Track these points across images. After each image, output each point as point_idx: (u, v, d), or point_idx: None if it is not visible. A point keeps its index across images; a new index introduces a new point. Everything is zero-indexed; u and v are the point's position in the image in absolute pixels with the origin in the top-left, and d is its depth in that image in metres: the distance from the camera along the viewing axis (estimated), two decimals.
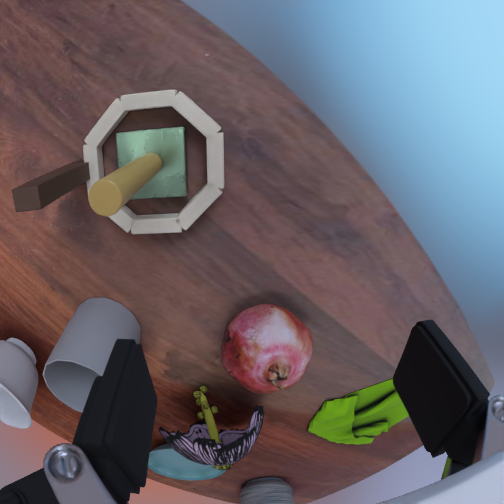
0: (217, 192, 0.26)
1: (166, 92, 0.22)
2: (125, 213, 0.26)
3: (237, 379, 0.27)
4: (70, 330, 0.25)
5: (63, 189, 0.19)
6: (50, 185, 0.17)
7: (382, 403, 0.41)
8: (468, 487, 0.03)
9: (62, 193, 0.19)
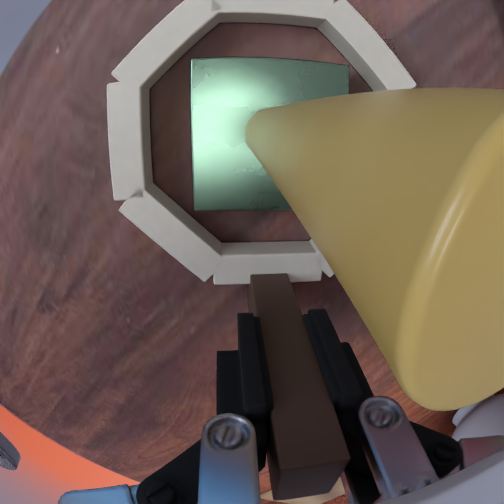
0: (342, 5, 0.09)
1: (110, 101, 0.10)
2: None
3: None
4: None
5: (304, 358, 0.08)
6: (287, 408, 0.07)
7: None
8: (468, 487, 0.03)
9: (314, 364, 0.08)
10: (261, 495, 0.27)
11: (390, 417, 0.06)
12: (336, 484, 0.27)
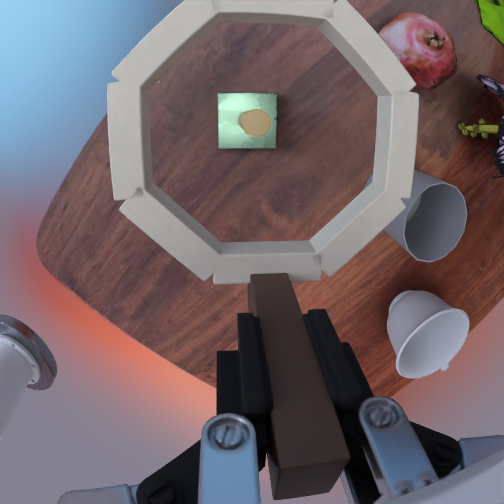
0: (342, 4, 0.09)
1: (111, 100, 0.10)
2: (370, 204, 0.12)
3: (440, 76, 0.22)
4: None
5: (304, 358, 0.08)
6: (288, 408, 0.07)
7: None
8: (468, 487, 0.03)
9: (314, 363, 0.08)
10: None
11: (390, 417, 0.06)
12: None
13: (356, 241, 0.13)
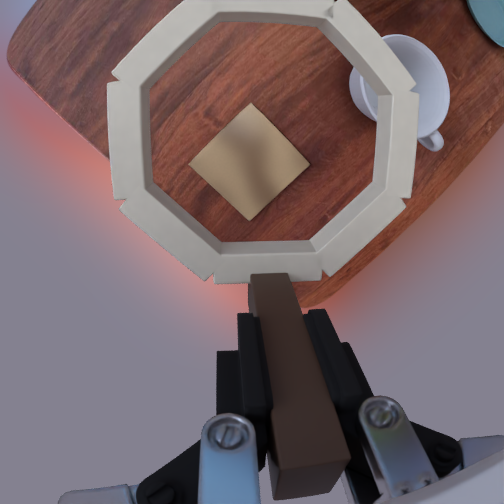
0: (342, 4, 0.08)
1: (111, 100, 0.10)
2: (370, 203, 0.12)
3: None
4: None
5: (304, 358, 0.08)
6: (288, 408, 0.07)
7: None
8: (468, 487, 0.03)
9: (314, 363, 0.08)
10: None
11: (390, 417, 0.06)
12: (261, 155, 0.38)
13: (356, 240, 0.13)
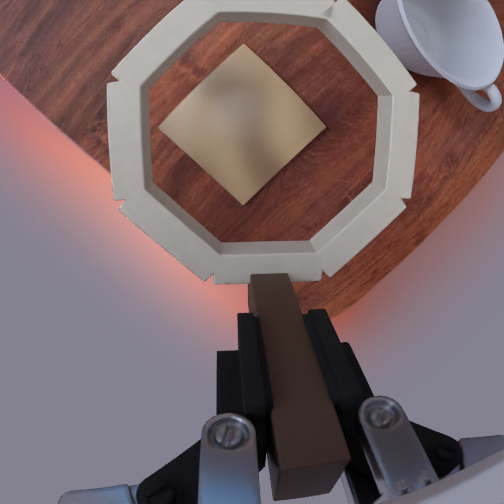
0: (342, 4, 0.08)
1: (110, 100, 0.10)
2: (370, 204, 0.12)
3: None
4: None
5: (304, 358, 0.08)
6: (288, 408, 0.07)
7: None
8: (468, 487, 0.03)
9: (314, 363, 0.08)
10: (162, 122, 0.25)
11: (390, 417, 0.06)
12: (258, 113, 0.26)
13: (356, 241, 0.13)
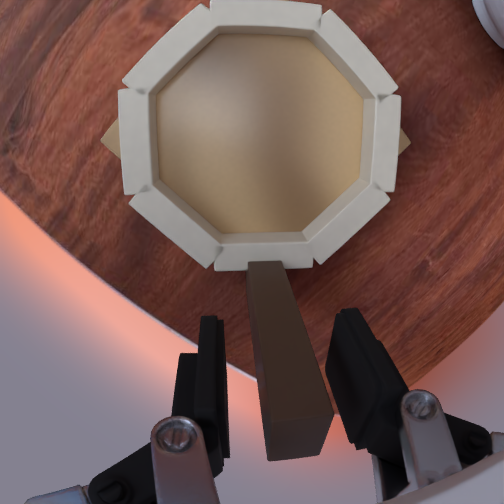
0: (329, 16, 0.10)
1: (121, 105, 0.11)
2: (356, 197, 0.14)
3: None
4: None
5: (294, 330, 0.10)
6: (279, 371, 0.08)
7: None
8: (468, 487, 0.03)
9: (303, 335, 0.10)
10: (108, 131, 0.13)
11: (428, 410, 0.06)
12: (294, 110, 0.13)
13: (344, 231, 0.14)
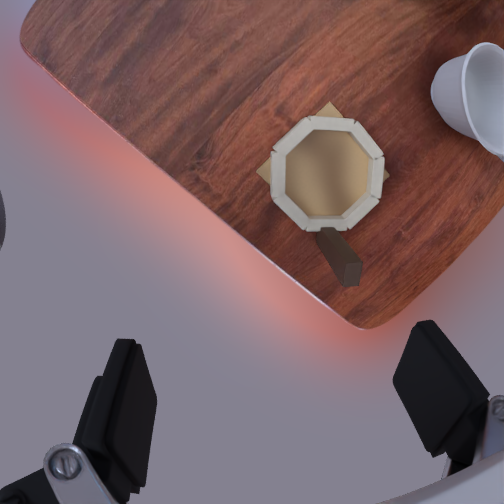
0: (357, 124, 0.29)
1: (274, 159, 0.30)
2: (364, 200, 0.32)
3: None
4: None
5: (346, 245, 0.29)
6: (344, 254, 0.27)
7: None
8: (468, 487, 0.03)
9: (349, 246, 0.28)
10: (259, 167, 0.32)
11: None
12: (339, 164, 0.32)
13: (360, 214, 0.33)
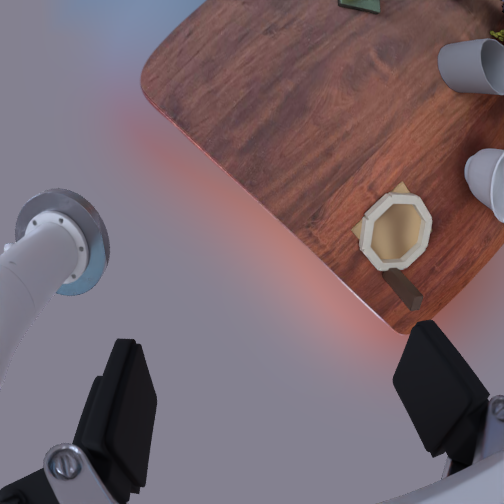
0: (419, 199, 0.41)
1: (367, 224, 0.42)
2: (417, 249, 0.45)
3: None
4: (461, 66, 0.29)
5: (410, 283, 0.41)
6: (411, 290, 0.39)
7: None
8: (468, 487, 0.03)
9: (412, 284, 0.41)
10: (354, 227, 0.44)
11: None
12: (403, 224, 0.44)
13: (413, 258, 0.45)
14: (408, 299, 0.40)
